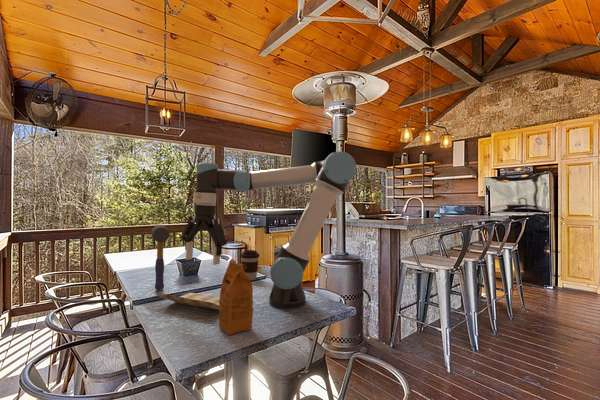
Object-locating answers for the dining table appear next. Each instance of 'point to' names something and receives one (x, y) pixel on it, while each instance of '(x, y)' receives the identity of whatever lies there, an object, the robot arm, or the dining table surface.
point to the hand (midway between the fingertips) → (202, 261)
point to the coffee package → (235, 300)
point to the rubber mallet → (159, 253)
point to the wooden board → (201, 298)
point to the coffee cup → (250, 263)
